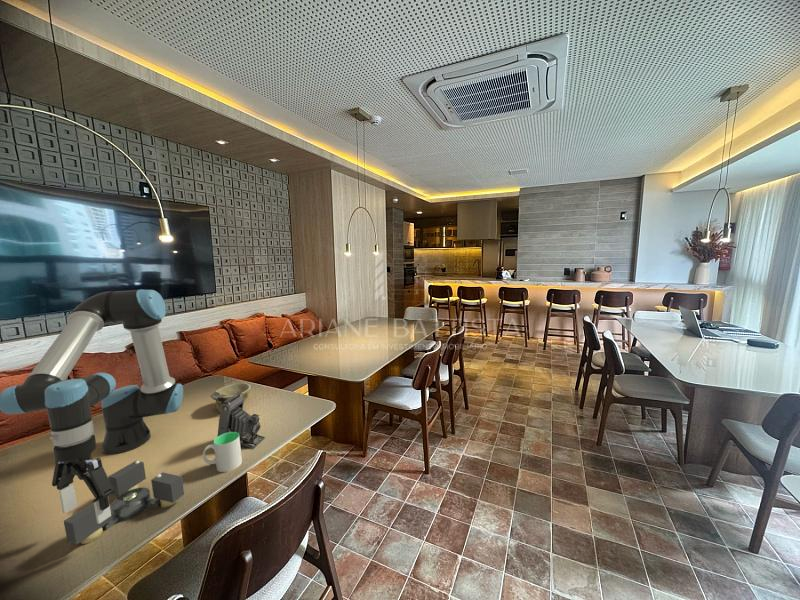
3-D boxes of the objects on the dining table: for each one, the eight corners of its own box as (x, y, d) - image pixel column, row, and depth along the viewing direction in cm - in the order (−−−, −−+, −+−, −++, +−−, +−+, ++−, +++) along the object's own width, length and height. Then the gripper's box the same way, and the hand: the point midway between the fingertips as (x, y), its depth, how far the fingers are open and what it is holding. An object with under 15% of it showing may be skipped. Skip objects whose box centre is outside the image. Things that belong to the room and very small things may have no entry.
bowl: (241, 396, 172) (239, 380, 171) (258, 404, 162) (257, 387, 161) (206, 409, 158) (204, 391, 157) (223, 419, 148) (221, 400, 147)
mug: (202, 478, 107) (198, 449, 106) (206, 464, 115) (203, 437, 113) (241, 468, 112) (238, 441, 111) (242, 455, 119) (240, 429, 118)
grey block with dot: (111, 499, 99) (106, 474, 98) (138, 482, 106) (134, 458, 105) (120, 502, 98) (116, 476, 96) (147, 484, 105) (144, 460, 104)
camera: (250, 459, 123) (257, 413, 119) (213, 445, 125) (219, 400, 122) (267, 443, 133) (274, 400, 130) (232, 430, 136) (239, 388, 133)
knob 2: (172, 509, 94) (169, 483, 93) (153, 504, 96) (149, 479, 95) (186, 499, 98) (183, 473, 97) (167, 494, 100) (163, 469, 99)
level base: (87, 523, 90) (84, 508, 89) (132, 493, 101) (130, 479, 101) (121, 534, 86) (118, 518, 85) (164, 501, 97) (162, 487, 97)
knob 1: (67, 548, 82) (62, 518, 81) (103, 523, 90) (99, 495, 89) (78, 552, 81) (73, 522, 80) (114, 526, 88) (109, 498, 87)
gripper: (24, 441, 82) (38, 516, 84) (89, 455, 74) (102, 536, 77) (62, 427, 89) (74, 496, 91) (124, 438, 82) (135, 512, 84)
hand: (87, 514), depth 84 cm, fingers open, 13 cm apart
